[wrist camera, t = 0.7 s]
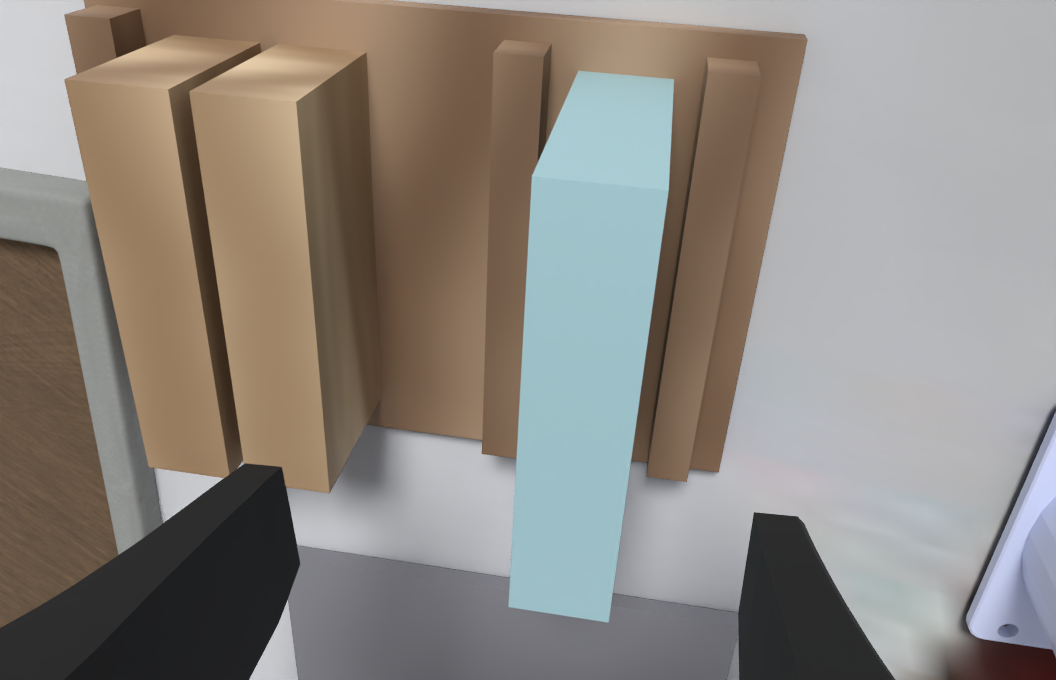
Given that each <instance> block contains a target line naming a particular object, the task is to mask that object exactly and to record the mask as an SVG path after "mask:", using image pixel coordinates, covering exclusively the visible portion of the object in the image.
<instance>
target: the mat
mask: <svg viewBox="0 0 1056 680" xmlns="http://www.w3.org/2000/svg"><path fill="white" fill-rule="evenodd" d="M297 548H298V554H299V559H300V567H299V569H298V572H297V575H296V578H295V581H294V583H293V586H292V589H291V592H290V595H289V597H288V603H289V611H290V619H291V626H292V634H293V642H294V650H295V658H296V666H297V674H298V680H727V676H728V672H729V668H730V664H731V660H732V656H733V652H734V648H735V644H736V640H737V636H738V632H739V625H738V613H736V612H729V611H723V610H716V609H710V608H703V607H697V606H690V605H683V604H677V603H670V602H664V601H657V600H651V599H644V598H637V597H631V596H624V595H618V594H612V601H611V608H610V616H609V623H608V622H602V621H595V620H589V619H583V618H576V617H570V616H563V615H557V614H550V613H544V612H538V611H531V610H525V609H518V608H512V607H508V606H509V588H510V578H506V577H500V576H493V575H487V574H480V573H473V572H467V571H460V570H454V569H447V568H441V567H434V566H428V565H421V564H414V563H408V562H401V561H395V560H388V559H382V558H375V557H369V556H362V555H355V554H349V553H342V552H336V551H329V550H323V549H316V548H309V547H303V546H297Z"/></svg>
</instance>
